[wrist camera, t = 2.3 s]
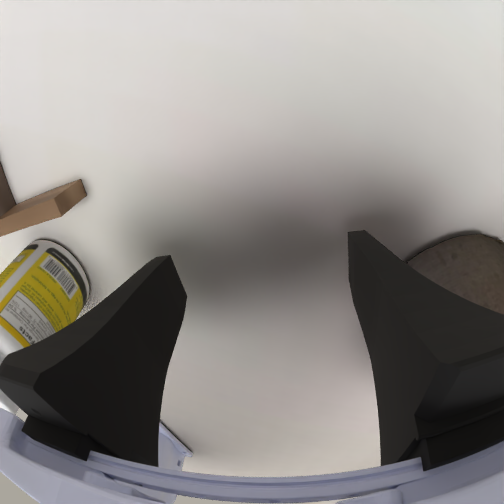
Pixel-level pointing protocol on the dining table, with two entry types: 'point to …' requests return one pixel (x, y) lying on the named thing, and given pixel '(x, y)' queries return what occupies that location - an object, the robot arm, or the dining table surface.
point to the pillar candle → (467, 268)
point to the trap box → (36, 205)
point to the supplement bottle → (38, 298)
